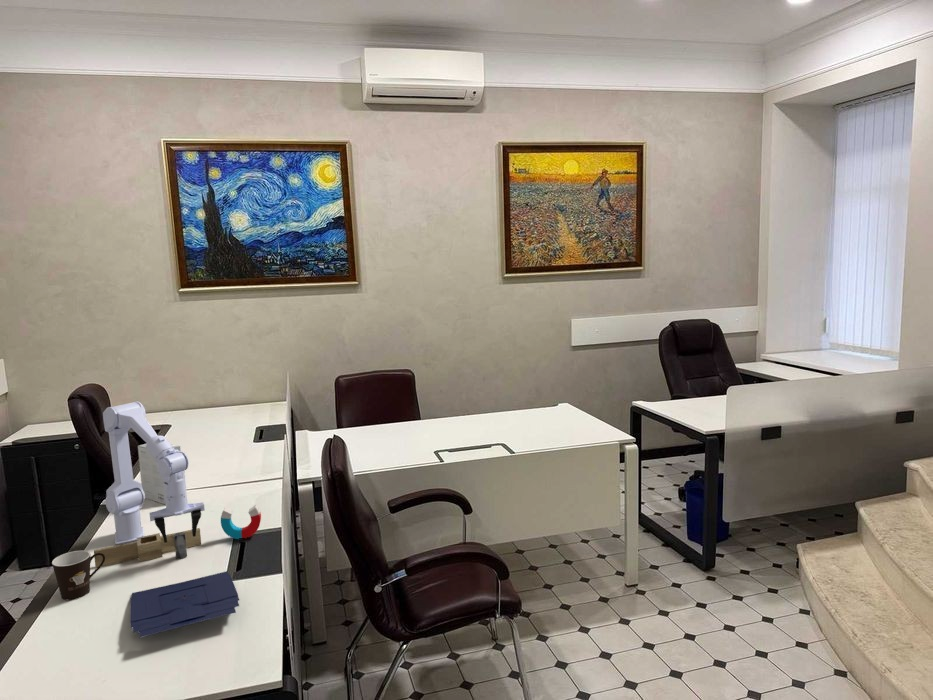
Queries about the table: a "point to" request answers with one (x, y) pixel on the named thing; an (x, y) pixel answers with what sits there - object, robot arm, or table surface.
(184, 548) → the pin
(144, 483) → the hard drive box
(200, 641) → the table surface
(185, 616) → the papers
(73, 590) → the coffee mug
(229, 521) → the magnet
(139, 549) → the tan wooden bar
